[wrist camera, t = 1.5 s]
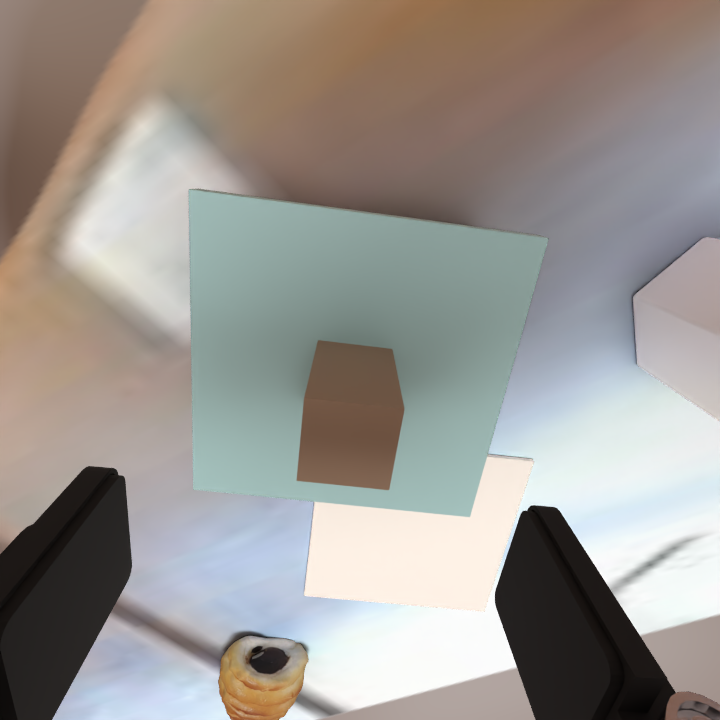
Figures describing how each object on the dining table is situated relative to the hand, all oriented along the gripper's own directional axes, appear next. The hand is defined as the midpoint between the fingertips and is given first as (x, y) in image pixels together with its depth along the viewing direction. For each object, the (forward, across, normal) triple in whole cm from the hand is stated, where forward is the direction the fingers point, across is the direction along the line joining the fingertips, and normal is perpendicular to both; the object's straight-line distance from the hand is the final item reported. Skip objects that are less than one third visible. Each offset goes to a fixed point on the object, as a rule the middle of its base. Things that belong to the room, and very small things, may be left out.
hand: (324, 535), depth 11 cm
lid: (+11, -1, 0) cm, 11 cm away
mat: (+16, -7, +15) cm, 23 cm away
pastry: (+17, +3, +31) cm, 35 cm away
